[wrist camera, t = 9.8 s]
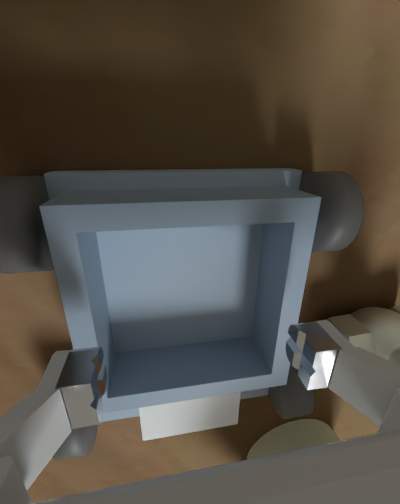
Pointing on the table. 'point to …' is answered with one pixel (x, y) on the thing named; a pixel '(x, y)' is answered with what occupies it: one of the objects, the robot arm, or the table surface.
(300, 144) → the table surface
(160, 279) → the chassis
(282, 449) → the reusable coffee cup
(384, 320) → the valve
